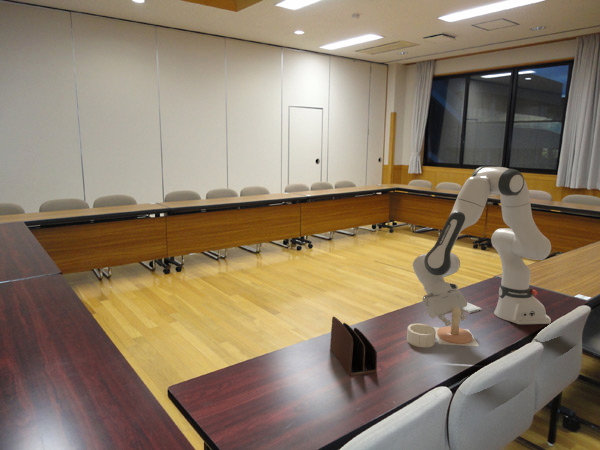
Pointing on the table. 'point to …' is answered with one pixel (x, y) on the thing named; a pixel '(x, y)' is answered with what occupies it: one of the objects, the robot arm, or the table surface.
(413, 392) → the table surface
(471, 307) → the hard drive
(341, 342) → the letter holder
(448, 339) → the salmon dome
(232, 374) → the table surface
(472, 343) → the mat
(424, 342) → the bowl
